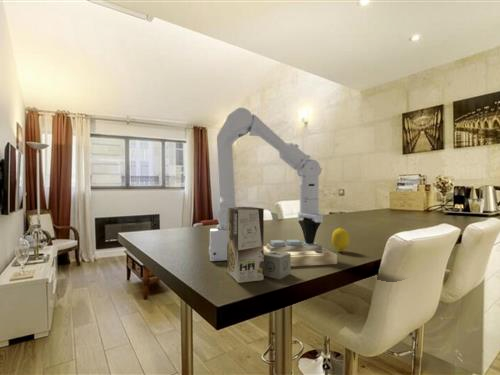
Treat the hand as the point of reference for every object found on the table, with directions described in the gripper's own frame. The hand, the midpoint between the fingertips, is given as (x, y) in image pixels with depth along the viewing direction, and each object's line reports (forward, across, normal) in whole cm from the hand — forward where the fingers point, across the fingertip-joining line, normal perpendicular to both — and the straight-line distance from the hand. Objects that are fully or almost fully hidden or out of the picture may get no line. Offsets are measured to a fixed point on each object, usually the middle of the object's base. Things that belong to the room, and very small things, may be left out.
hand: (309, 243), depth 82 cm
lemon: (+4, +4, -12) cm, 14 cm away
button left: (0, 0, +10) cm, 10 cm away
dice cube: (+4, -15, +15) cm, 22 cm away
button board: (+4, -2, +5) cm, 7 cm away
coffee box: (+4, -15, +23) cm, 27 cm away
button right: (+1, 0, 0) cm, 1 cm away
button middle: (0, 0, +5) cm, 5 cm away
